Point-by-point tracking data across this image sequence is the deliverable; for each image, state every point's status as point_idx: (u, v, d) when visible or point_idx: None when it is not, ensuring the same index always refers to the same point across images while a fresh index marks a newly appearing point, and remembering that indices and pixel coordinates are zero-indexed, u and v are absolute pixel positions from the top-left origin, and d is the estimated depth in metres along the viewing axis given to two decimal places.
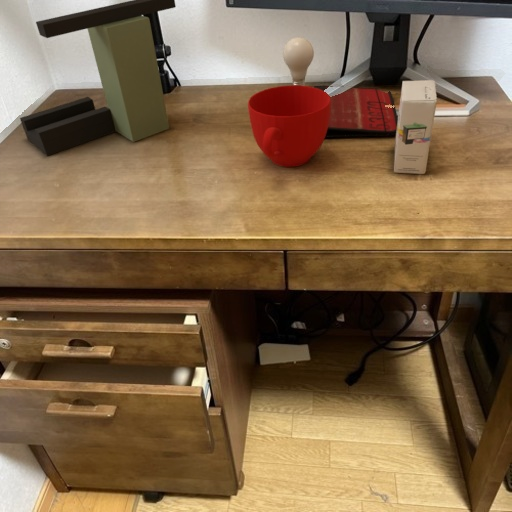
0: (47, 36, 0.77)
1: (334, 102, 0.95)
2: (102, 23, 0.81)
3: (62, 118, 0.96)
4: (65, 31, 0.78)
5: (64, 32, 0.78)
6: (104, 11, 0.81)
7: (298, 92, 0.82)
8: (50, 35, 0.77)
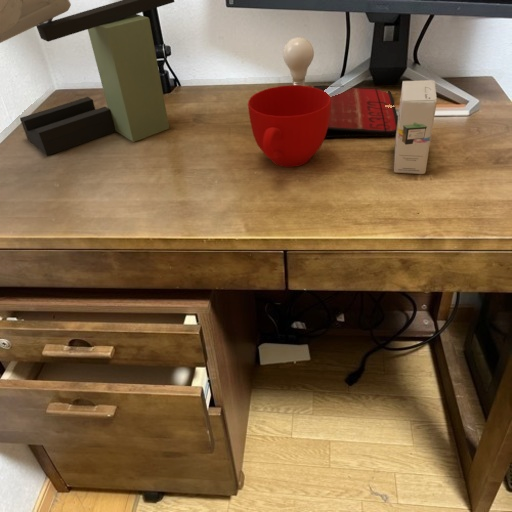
0: (48, 40, 0.77)
1: (334, 102, 0.95)
2: (102, 23, 0.81)
3: (62, 118, 0.96)
4: (66, 33, 0.79)
5: (65, 34, 0.79)
6: (103, 11, 0.81)
7: (298, 92, 0.82)
8: (51, 38, 0.77)
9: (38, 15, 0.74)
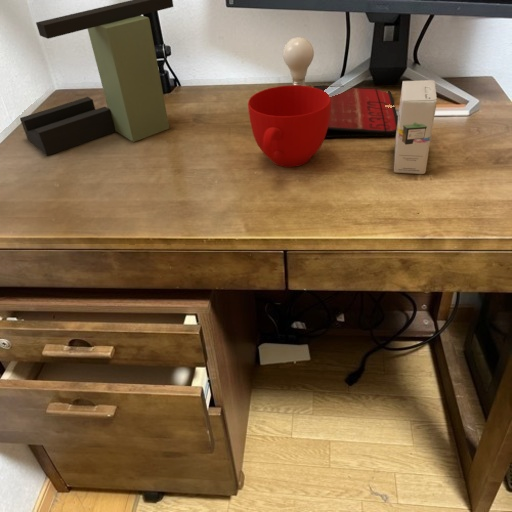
0: (48, 37, 0.77)
1: (334, 102, 0.95)
2: (102, 23, 0.81)
3: (62, 118, 0.96)
4: (66, 31, 0.78)
5: (65, 32, 0.78)
6: (104, 11, 0.81)
7: (298, 92, 0.82)
8: (51, 36, 0.77)
9: None
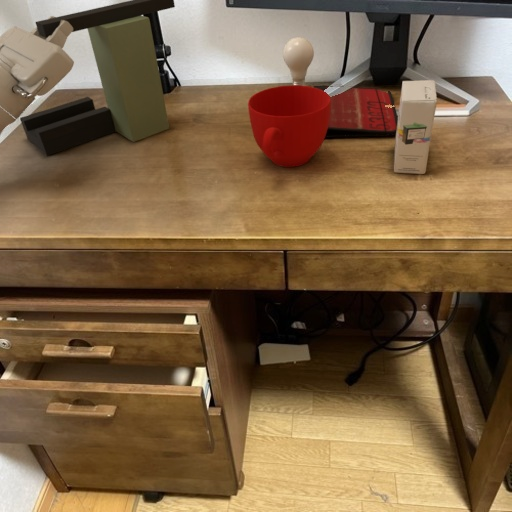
0: (47, 36, 0.77)
1: (334, 102, 0.95)
2: (102, 23, 0.81)
3: (62, 118, 0.96)
4: None
5: None
6: (104, 11, 0.81)
7: (298, 92, 0.82)
8: (50, 35, 0.77)
9: None
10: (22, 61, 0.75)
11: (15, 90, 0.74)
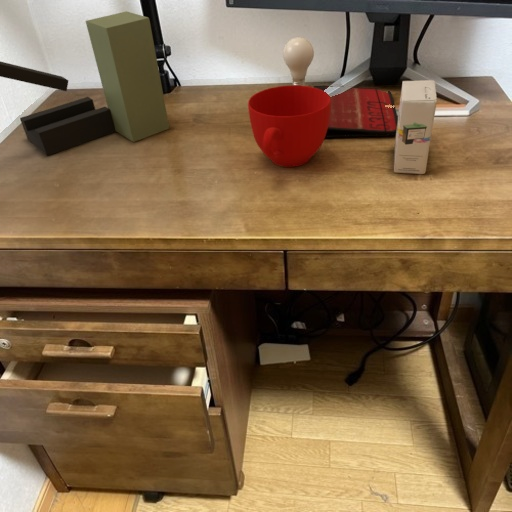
0: None
1: (334, 102, 0.95)
2: None
3: (62, 118, 0.96)
4: None
5: None
6: None
7: (298, 92, 0.82)
8: None
9: None
10: None
11: None
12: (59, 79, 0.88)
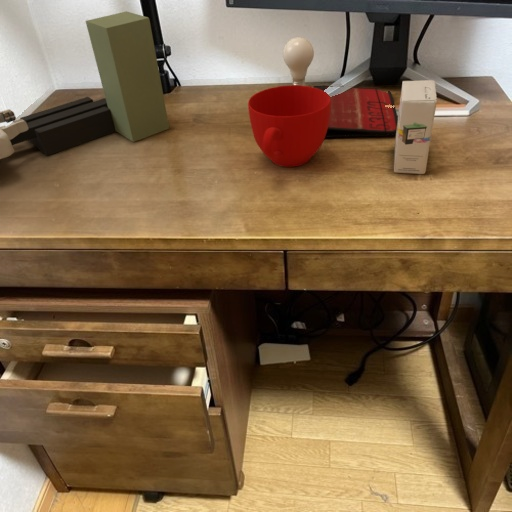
0: None
1: (334, 102, 0.95)
2: None
3: None
4: (21, 140, 0.89)
5: (20, 141, 0.89)
6: (57, 119, 0.92)
7: (298, 92, 0.82)
8: None
9: None
10: None
11: None
12: None
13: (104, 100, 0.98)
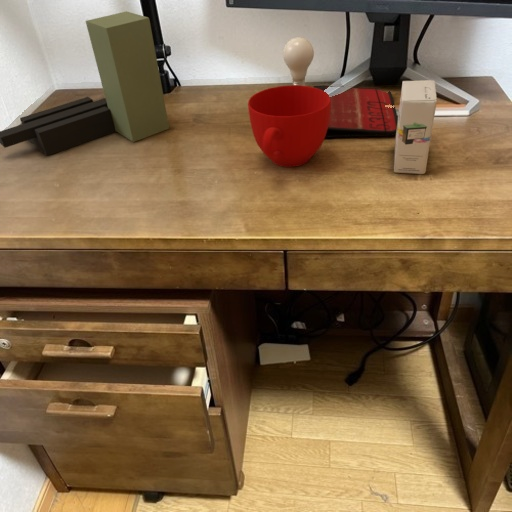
0: (5, 146, 0.88)
1: (334, 102, 0.95)
2: None
3: None
4: (21, 140, 0.89)
5: (20, 141, 0.89)
6: (57, 119, 0.92)
7: (298, 92, 0.82)
8: (8, 145, 0.88)
9: None
10: None
11: None
12: None
13: (104, 100, 0.98)
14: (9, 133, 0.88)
